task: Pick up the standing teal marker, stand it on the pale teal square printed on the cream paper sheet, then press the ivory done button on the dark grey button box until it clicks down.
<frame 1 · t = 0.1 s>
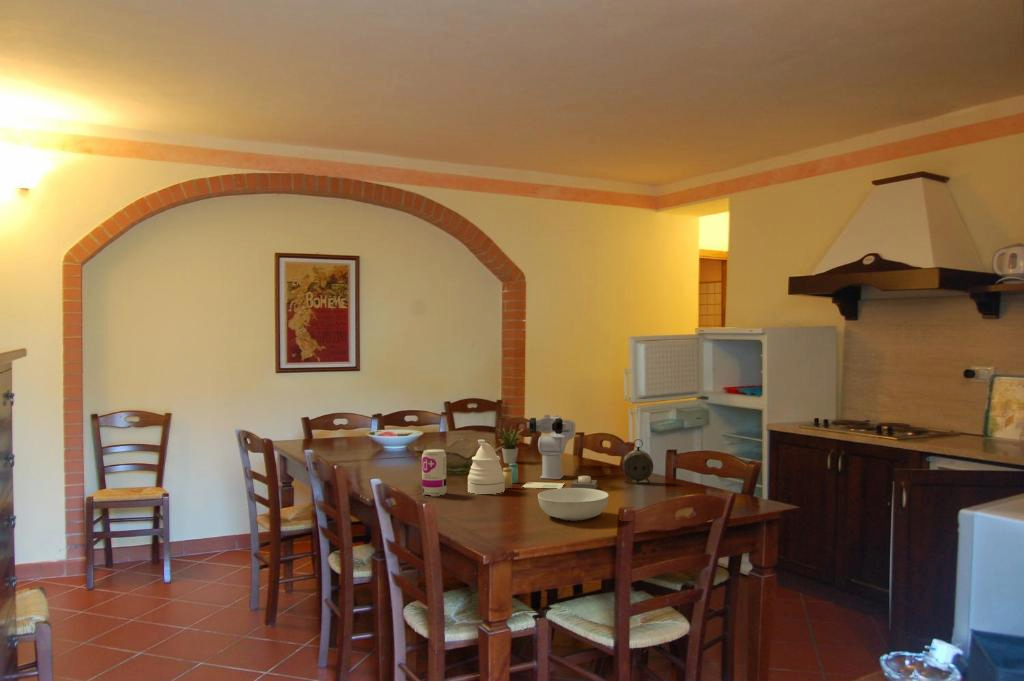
hand: (542, 426, 268), 22 cm above the table, tool horizontal, fingers open, 7 cm apart
serving bowl: (573, 518, 221), on the table
alarm clock: (638, 483, 274), on the table
paper sheet: (543, 486, 269), on the table
teal marker: (513, 482, 276), on the table
house plant: (506, 463, 324), on the table
button box: (584, 488, 264), on the table
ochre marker: (507, 488, 266), on the table
supplement can: (434, 495, 255), on the table
done button: (584, 481, 264), point 3 cm above the table, slide at 0.0 cm
honey pot: (486, 491, 261), on the table
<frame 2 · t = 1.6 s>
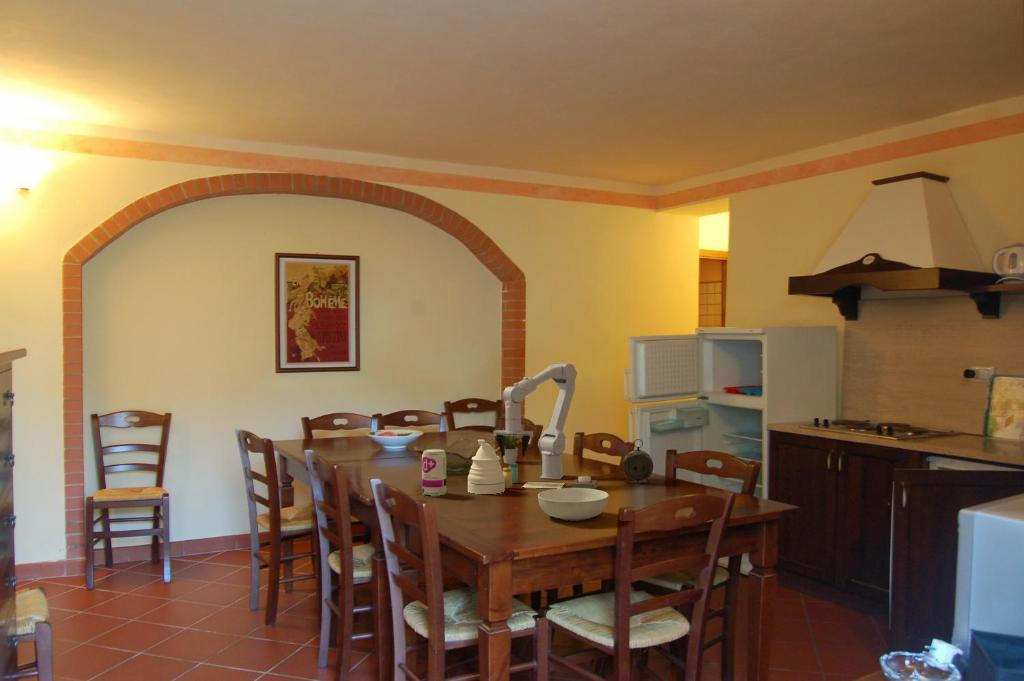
hand: (513, 456, 276), 10 cm above the table, tool pointing down, fingers open, 7 cm apart
nothing on the table moved.
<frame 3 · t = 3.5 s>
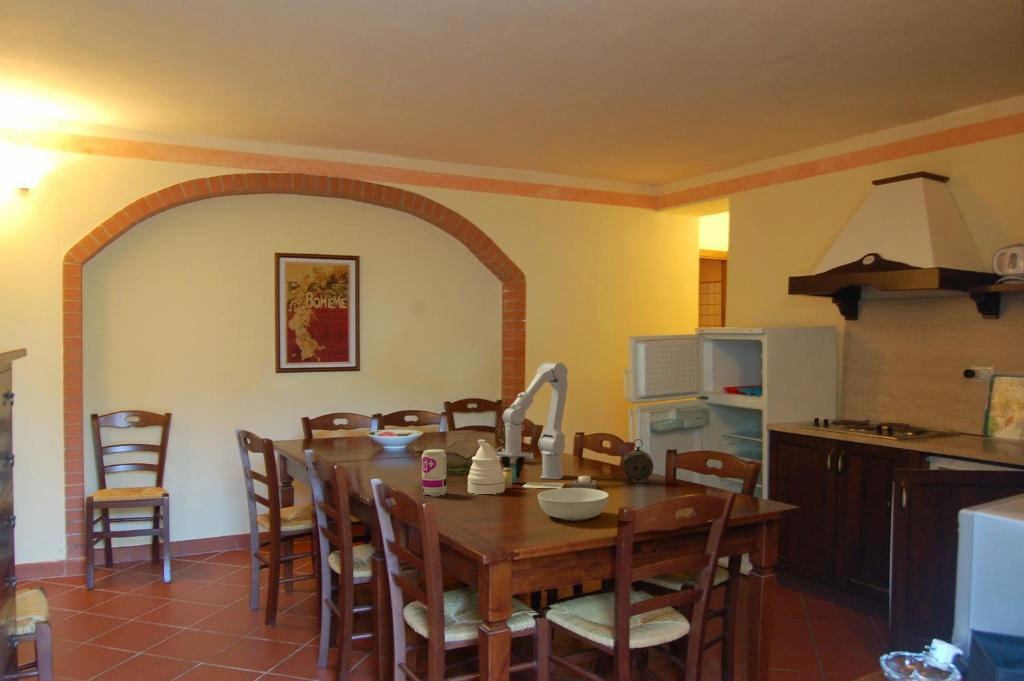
hand: (513, 477, 276), 2 cm above the table, tool pointing down, fingers closed on teal marker, 3 cm apart
teal marker: (513, 482, 276), on the table, touching gripper
everything else where it was.
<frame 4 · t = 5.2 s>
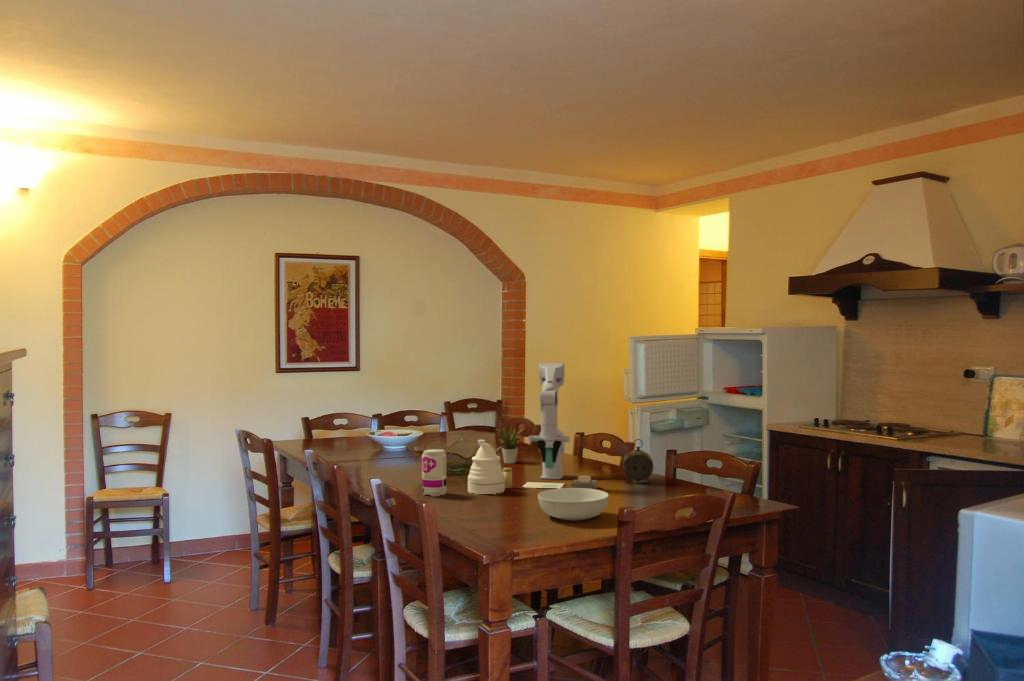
hand: (549, 462, 268), 9 cm above the table, tool pointing down, fingers closed on teal marker, 3 cm apart
teal marker: (549, 467, 267), point 7 cm above the table, touching gripper
everything else where it was.
when the fingers open (3 cm above the table, at t = 7.2 s): teal marker stays where it is, resting on paper sheet.
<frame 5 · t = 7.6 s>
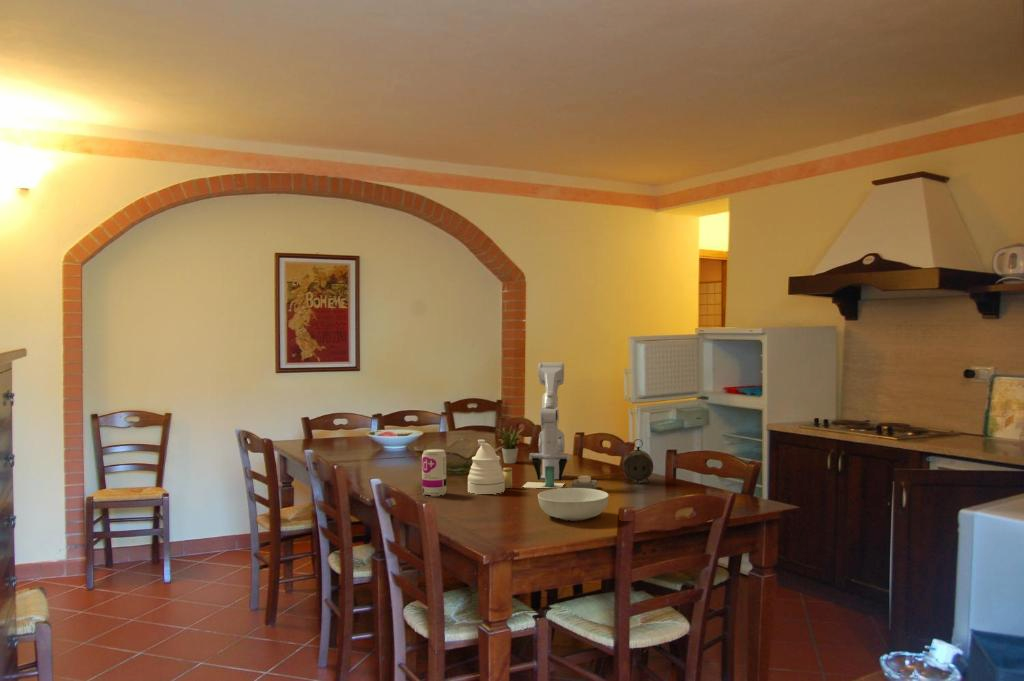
hand: (549, 479, 267), 3 cm above the table, tool pointing down, fingers open, 7 cm apart
teal marker: (549, 486, 267), resting on paper sheet
everything else where it was.
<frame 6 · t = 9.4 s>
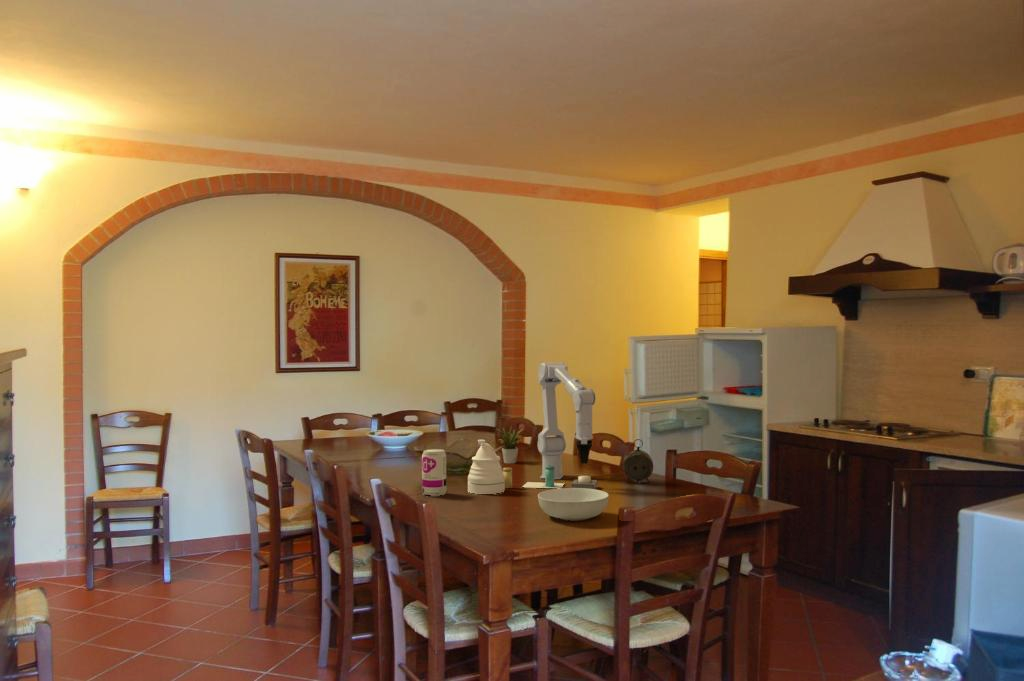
hand: (584, 462, 264), 9 cm above the table, tool pointing down, fingers open, 5 cm apart
nothing on the table moved.
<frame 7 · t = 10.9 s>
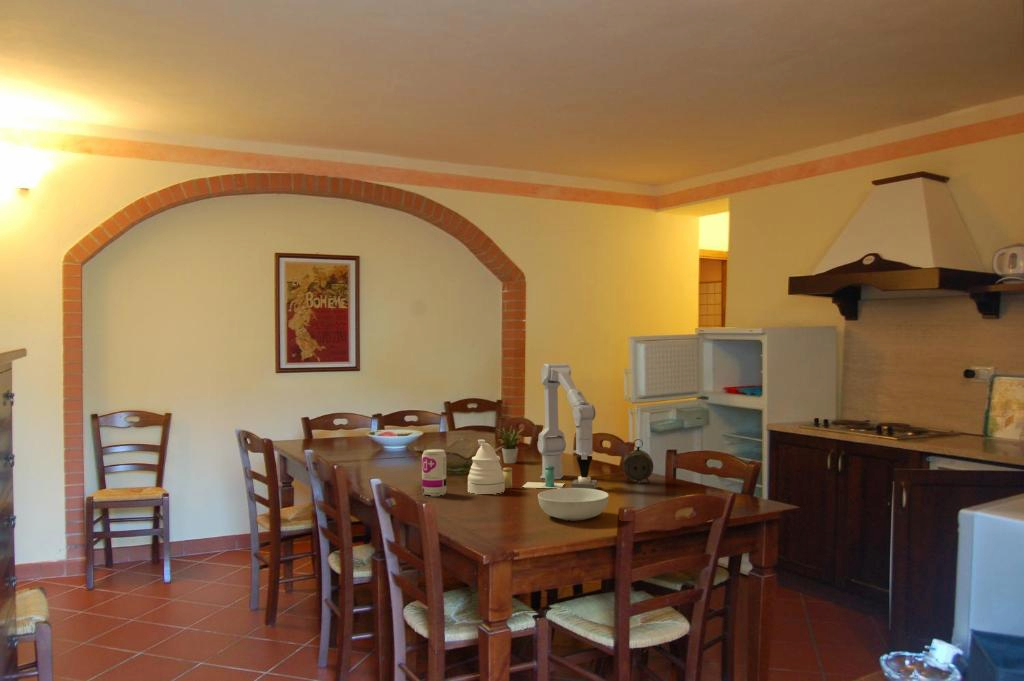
hand: (584, 477, 264), 4 cm above the table, tool pointing down, fingers closed, pressing on done button
done button: (584, 481, 264), point 3 cm above the table, slide at 0.0 cm, touching gripper
everything else where it was.
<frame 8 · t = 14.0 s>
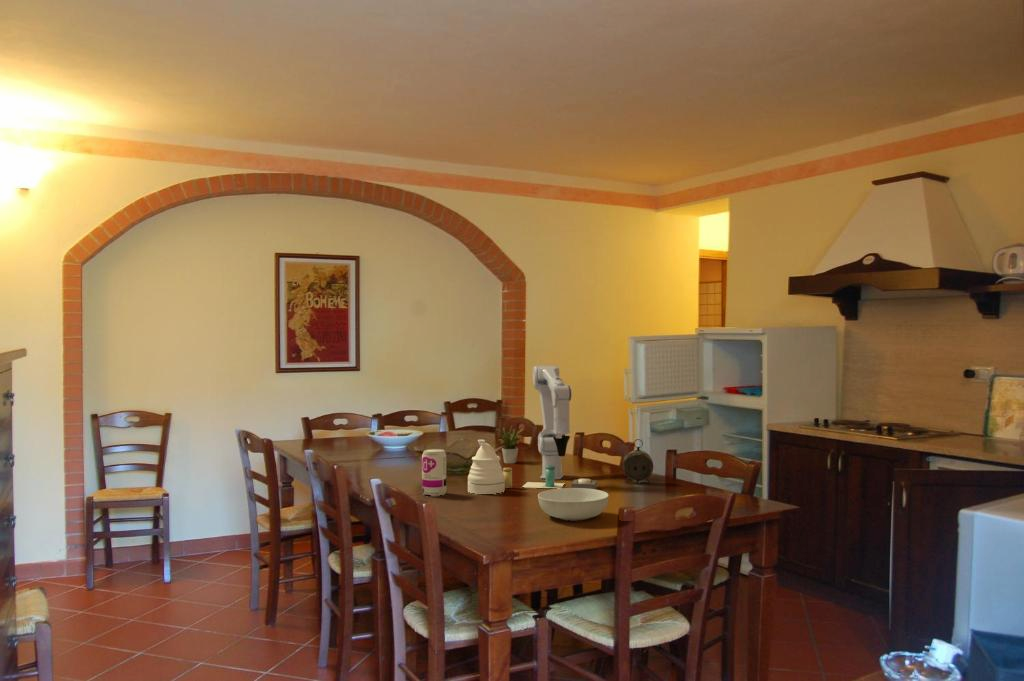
hand: (561, 456, 272), 10 cm above the table, tool pointing down, fingers closed
done button: (584, 483, 264), point 2 cm above the table, slide at -1.0 cm, touching button box
everything else where it was.
at the end: teal marker 0.0 cm from the target spot on the paper sheet, point 0.4 cm above the paper sheet's base; teal marker tilted 2°; done button slide at -1.0 cm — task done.
